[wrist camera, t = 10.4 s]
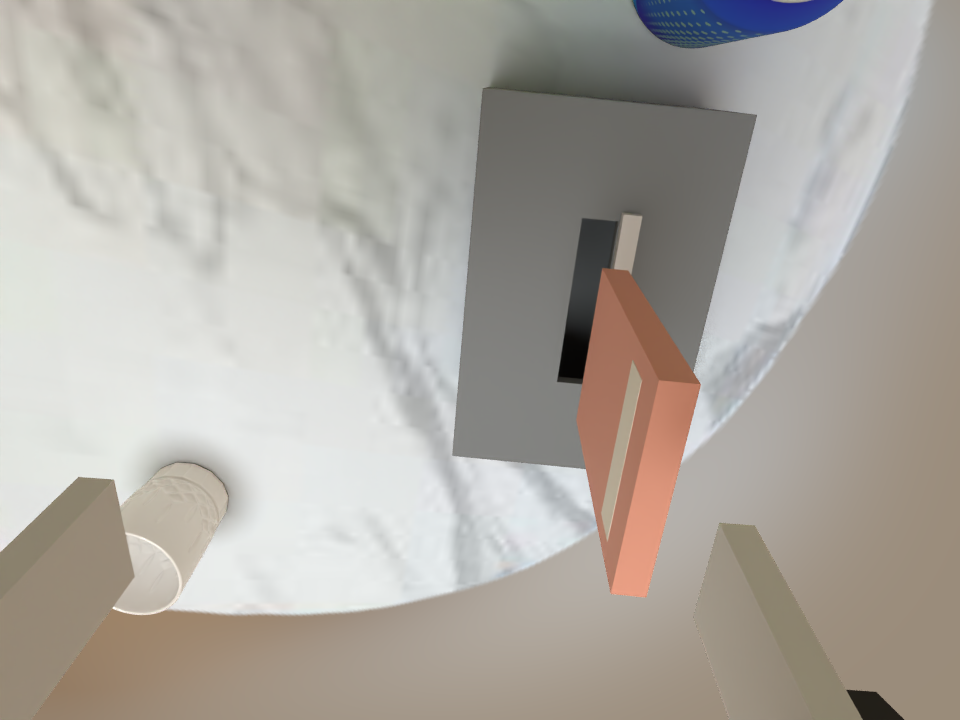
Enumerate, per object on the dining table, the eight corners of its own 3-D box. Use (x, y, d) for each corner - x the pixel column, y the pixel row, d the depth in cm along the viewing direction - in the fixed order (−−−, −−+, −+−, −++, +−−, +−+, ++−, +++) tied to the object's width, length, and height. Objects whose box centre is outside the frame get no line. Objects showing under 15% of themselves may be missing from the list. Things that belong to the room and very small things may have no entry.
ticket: (601, 267, 29) (658, 380, 18) (628, 270, 29) (701, 384, 18) (575, 419, 32) (610, 593, 21) (600, 422, 32) (646, 597, 21)
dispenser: (488, 87, 41) (482, 88, 32) (702, 108, 41) (761, 115, 32) (462, 387, 50) (451, 460, 40) (638, 405, 50) (669, 482, 40)
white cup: (248, 480, 55) (195, 560, 45) (218, 543, 58) (163, 629, 48) (161, 441, 53) (89, 514, 44) (135, 507, 56) (63, 589, 47)
